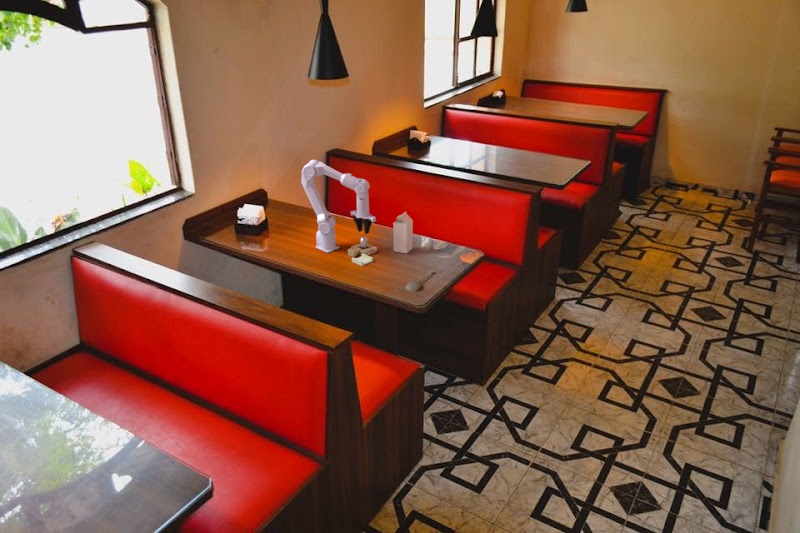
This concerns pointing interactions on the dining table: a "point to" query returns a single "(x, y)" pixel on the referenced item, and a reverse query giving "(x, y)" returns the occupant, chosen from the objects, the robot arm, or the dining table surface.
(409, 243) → the milk carton
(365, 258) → the pad
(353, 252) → the block
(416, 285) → the soupspoon
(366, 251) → the socket block
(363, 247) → the peg
